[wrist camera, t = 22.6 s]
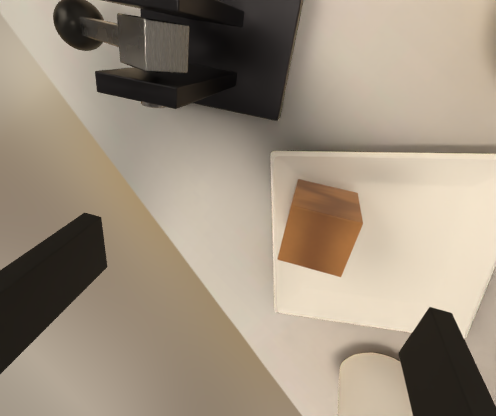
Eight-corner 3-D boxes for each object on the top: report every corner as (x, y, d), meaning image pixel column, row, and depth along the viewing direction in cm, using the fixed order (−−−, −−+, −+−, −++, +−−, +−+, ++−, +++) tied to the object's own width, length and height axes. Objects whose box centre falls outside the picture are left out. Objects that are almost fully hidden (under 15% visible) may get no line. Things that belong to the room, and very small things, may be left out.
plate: (526, 146, 22) (543, 155, 20) (458, 325, 30) (465, 343, 28) (273, 144, 26) (269, 151, 24) (277, 300, 35) (274, 314, 33)
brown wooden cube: (285, 226, 27) (277, 260, 23) (298, 178, 25) (290, 205, 21) (339, 241, 27) (341, 277, 22) (358, 192, 24) (363, 223, 20)
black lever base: (150, 91, 27) (40, 116, 17) (148, -35, 22) (-5, -106, 12) (280, 117, 25) (245, 164, 15) (305, -13, 20) (281, -72, 10)
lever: (97, 49, 23) (51, 45, 21) (92, 0, 22) (42, -9, 20) (194, 84, 16) (138, 83, 14) (197, 14, 15) (134, 2, 12)
